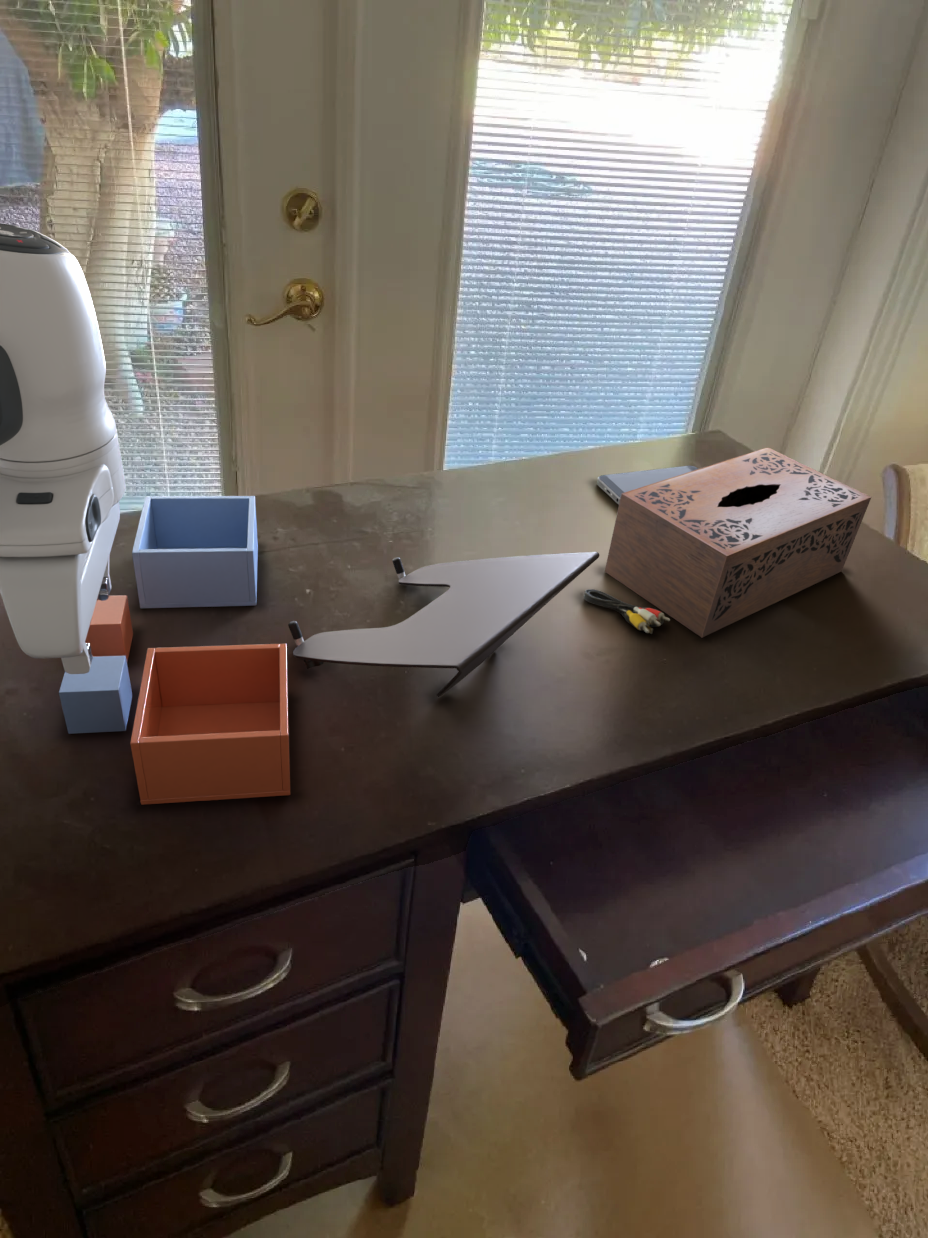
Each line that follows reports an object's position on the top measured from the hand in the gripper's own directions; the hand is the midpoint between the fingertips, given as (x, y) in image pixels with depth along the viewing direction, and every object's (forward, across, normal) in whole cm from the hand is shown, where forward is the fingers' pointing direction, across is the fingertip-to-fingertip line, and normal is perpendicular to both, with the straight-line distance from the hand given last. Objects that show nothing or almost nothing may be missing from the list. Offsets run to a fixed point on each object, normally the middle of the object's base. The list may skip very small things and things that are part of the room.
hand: (90, 630), depth 70 cm
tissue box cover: (+10, -20, +65) cm, 69 cm away
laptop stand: (+10, -7, +28) cm, 31 cm away
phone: (+10, -40, +64) cm, 76 cm away
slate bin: (+9, -21, +6) cm, 24 cm away
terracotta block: (+9, -9, -2) cm, 13 cm away
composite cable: (+10, -12, +50) cm, 53 cm away
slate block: (+9, 0, -1) cm, 9 cm away
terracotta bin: (+9, +5, +9) cm, 14 cm away
